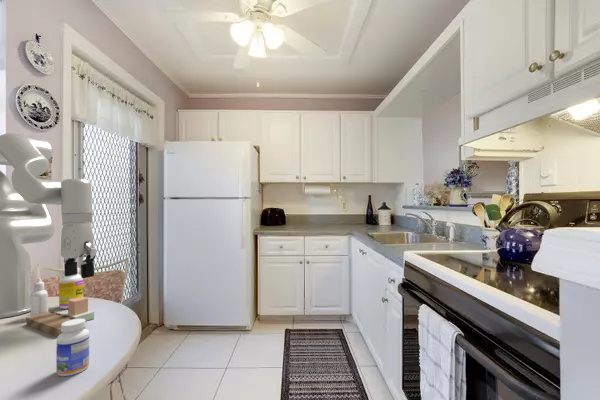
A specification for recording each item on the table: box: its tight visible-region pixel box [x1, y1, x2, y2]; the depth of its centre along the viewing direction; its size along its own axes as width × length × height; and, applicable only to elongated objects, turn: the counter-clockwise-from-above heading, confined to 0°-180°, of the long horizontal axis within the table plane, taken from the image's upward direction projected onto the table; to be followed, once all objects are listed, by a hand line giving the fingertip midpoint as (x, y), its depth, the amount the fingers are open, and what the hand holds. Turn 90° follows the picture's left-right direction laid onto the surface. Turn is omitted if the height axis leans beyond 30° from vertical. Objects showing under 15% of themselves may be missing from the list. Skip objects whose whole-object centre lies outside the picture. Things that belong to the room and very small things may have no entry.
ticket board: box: [25, 310, 86, 337], centre depth 85 cm, size 20×6×2 cm, turn 61°
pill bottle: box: [55, 319, 90, 377], centre depth 61 cm, size 5×5×10 cm
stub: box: [61, 296, 95, 322], centre depth 90 cm, size 8×5×6 cm, turn 61°
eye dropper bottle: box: [30, 277, 49, 317], centre depth 93 cm, size 4×6×12 cm
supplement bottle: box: [58, 267, 84, 310], centre depth 103 cm, size 7×7×13 cm
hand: (79, 276), depth 90 cm, fingers open, 9 cm apart
